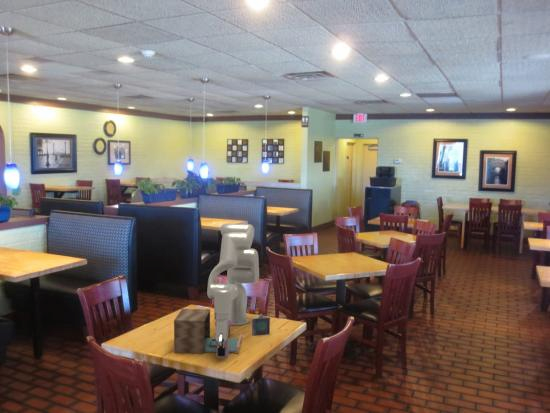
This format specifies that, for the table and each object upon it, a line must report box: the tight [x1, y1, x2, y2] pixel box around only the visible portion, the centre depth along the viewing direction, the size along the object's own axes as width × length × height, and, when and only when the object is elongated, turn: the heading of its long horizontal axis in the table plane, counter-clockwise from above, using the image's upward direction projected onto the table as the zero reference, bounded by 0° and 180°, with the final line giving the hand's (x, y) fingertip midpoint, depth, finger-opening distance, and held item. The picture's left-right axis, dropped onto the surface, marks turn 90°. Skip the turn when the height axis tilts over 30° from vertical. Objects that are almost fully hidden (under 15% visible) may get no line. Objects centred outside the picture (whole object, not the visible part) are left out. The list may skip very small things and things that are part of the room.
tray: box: [204, 332, 243, 354], centre depth 226 cm, size 18×17×3 cm
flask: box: [251, 313, 271, 336], centre depth 242 cm, size 9×3×11 cm, turn 102°
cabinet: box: [173, 308, 211, 354], centre depth 226 cm, size 14×17×16 cm
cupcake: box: [214, 319, 233, 335], centre depth 241 cm, size 9×9×10 cm
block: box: [216, 339, 230, 359], centre depth 215 cm, size 5×5×7 cm
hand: (222, 351), depth 215 cm, fingers open, 9 cm apart
